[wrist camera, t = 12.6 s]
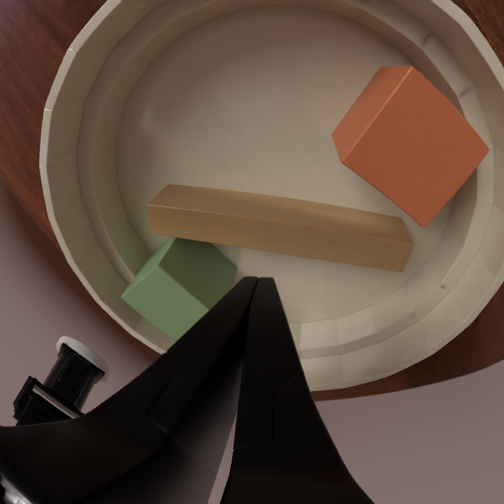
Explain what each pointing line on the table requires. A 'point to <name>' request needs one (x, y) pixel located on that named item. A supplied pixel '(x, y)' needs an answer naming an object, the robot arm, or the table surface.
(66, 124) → the bowl
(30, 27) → the table surface
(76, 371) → the robot arm
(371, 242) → the long tan beam
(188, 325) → the sage block
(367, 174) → the terracotta block
